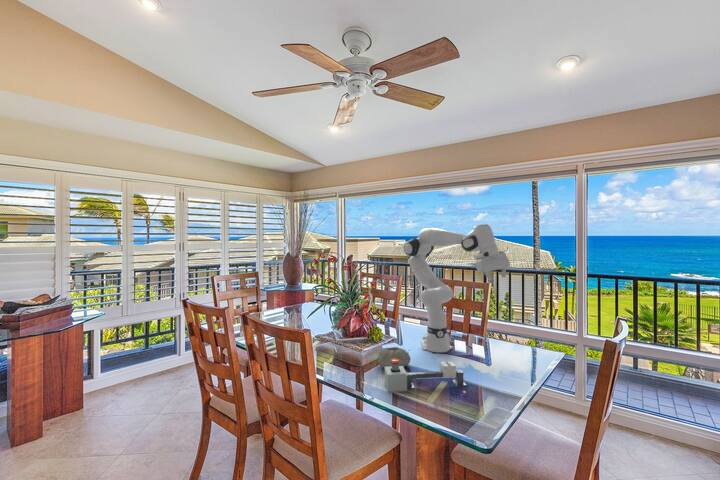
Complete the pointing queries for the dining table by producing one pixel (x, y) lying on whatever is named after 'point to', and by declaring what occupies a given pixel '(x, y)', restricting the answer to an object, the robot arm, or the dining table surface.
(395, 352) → the decorative shell
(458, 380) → the rail
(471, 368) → the dining table surface
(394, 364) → the button
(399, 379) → the push button box
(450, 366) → the carriage
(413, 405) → the dining table surface
